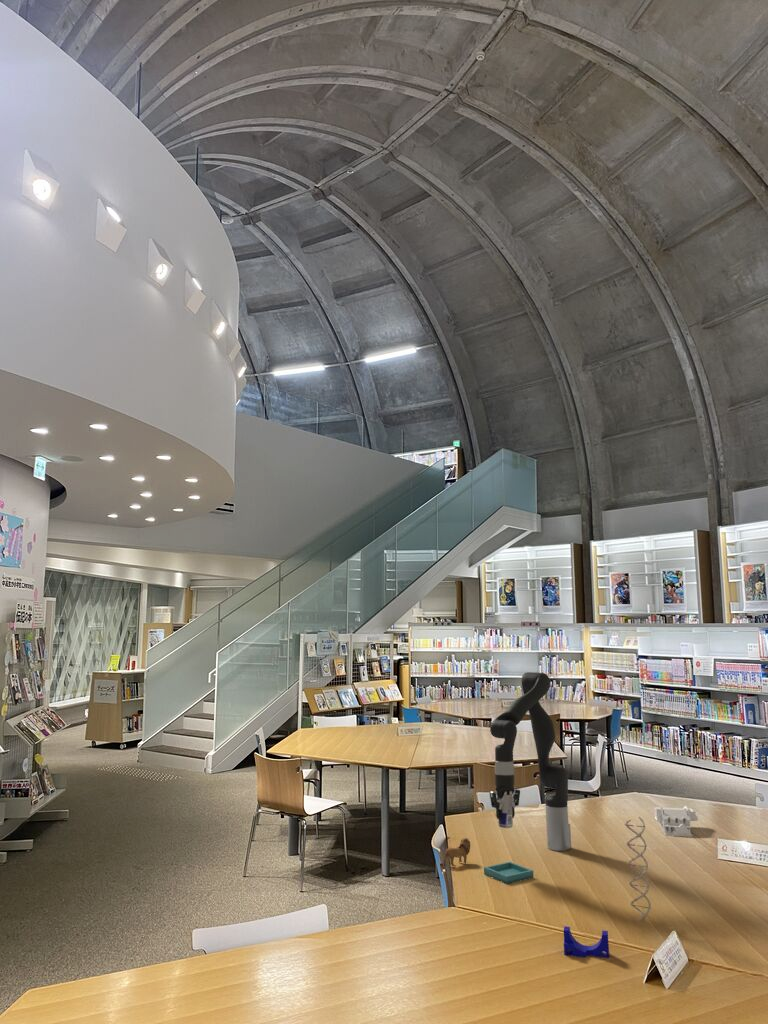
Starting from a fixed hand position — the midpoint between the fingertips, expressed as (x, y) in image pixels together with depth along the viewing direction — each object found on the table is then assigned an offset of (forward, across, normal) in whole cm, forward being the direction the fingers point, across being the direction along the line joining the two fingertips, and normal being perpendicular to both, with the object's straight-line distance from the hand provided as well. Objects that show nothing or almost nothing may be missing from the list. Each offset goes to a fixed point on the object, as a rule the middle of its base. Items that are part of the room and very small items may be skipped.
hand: (505, 818), depth 274 cm
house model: (+17, -106, -4) cm, 107 cm away
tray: (+19, +3, +5) cm, 20 cm away
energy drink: (+3, 0, 0) cm, 3 cm away
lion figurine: (+20, +11, -17) cm, 28 cm away
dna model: (+20, -6, +58) cm, 62 cm away
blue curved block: (+21, +28, +68) cm, 77 cm away
